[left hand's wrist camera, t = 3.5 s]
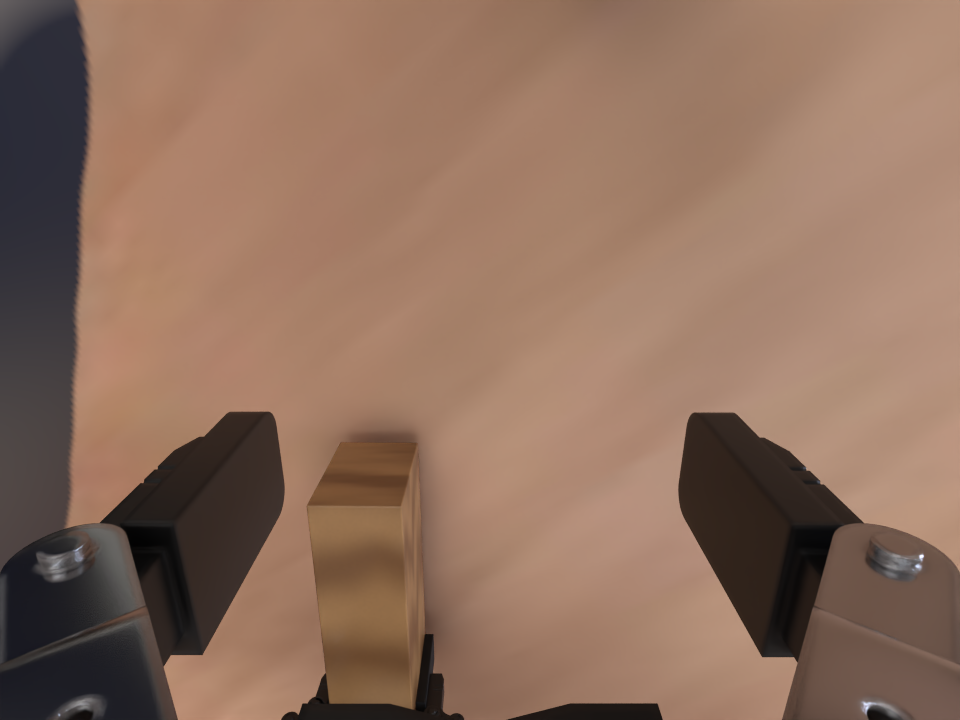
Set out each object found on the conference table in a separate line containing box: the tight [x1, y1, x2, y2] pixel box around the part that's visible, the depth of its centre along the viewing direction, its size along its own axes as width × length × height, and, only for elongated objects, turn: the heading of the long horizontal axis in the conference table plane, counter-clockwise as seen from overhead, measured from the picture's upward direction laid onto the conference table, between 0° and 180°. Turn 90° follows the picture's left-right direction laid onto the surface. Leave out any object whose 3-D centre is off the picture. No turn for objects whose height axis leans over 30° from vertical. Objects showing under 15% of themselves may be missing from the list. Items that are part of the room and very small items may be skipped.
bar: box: [307, 442, 425, 710], centre depth 43 cm, size 23×6×8 cm, turn 0°
